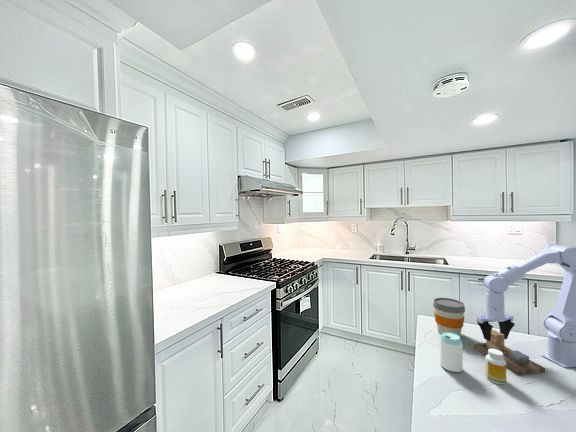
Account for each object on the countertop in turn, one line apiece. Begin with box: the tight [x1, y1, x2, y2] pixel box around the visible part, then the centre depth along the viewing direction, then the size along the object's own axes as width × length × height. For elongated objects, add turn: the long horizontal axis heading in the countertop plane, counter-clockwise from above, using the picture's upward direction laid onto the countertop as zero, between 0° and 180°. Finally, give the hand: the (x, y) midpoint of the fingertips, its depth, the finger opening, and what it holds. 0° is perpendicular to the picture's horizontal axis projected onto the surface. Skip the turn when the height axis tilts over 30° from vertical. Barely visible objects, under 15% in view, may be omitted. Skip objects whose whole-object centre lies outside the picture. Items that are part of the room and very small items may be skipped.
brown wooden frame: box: [473, 342, 546, 376], centre depth 95 cm, size 11×18×2 cm, turn 6°
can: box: [439, 332, 464, 373], centre depth 91 cm, size 7×7×12 cm
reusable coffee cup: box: [432, 297, 466, 338], centre depth 116 cm, size 12×13×15 cm
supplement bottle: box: [485, 349, 507, 385], centre depth 84 cm, size 5×5×10 cm
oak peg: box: [485, 329, 505, 353], centre depth 100 cm, size 4×4×8 cm
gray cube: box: [508, 350, 530, 366], centre depth 91 cm, size 4×4×4 cm
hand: (495, 338), depth 100 cm, fingers open, 7 cm apart
